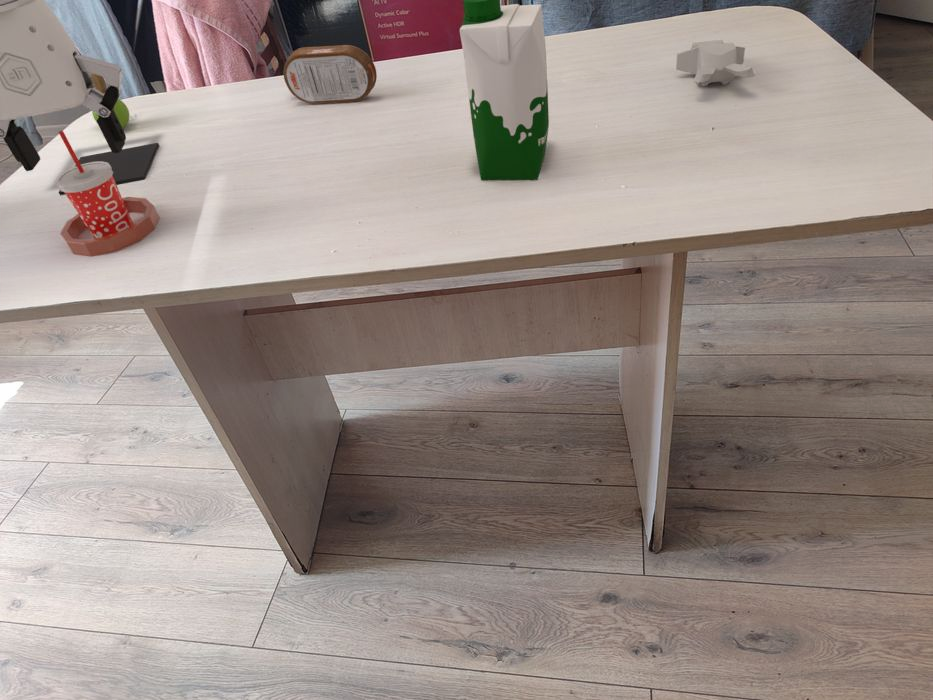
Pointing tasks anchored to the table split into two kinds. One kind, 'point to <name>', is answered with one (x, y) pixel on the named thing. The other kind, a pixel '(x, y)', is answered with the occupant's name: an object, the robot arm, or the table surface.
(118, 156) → the mat
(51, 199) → the table surface
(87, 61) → the robot arm
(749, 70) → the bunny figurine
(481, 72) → the milk carton
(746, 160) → the table surface
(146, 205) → the reddish brown ring
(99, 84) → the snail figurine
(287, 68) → the tin
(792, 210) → the table surface
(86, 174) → the beverage cup
